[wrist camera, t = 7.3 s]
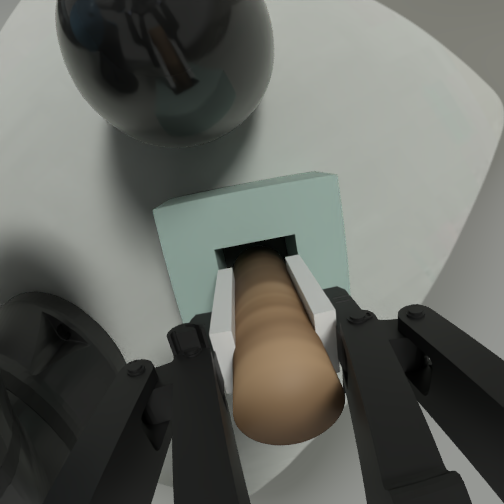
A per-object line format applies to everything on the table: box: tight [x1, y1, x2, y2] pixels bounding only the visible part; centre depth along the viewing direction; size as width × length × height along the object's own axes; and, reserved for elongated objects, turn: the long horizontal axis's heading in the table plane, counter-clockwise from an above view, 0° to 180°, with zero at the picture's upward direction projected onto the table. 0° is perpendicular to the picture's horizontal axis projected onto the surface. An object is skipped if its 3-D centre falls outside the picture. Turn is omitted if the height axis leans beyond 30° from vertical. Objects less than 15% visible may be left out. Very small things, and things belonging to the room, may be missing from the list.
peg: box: [233, 246, 345, 445], centre depth 14 cm, size 3×3×12 cm
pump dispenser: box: [55, 0, 274, 148], centre depth 12 cm, size 10×10×15 cm
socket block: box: [153, 171, 351, 324], centre depth 20 cm, size 10×10×5 cm
